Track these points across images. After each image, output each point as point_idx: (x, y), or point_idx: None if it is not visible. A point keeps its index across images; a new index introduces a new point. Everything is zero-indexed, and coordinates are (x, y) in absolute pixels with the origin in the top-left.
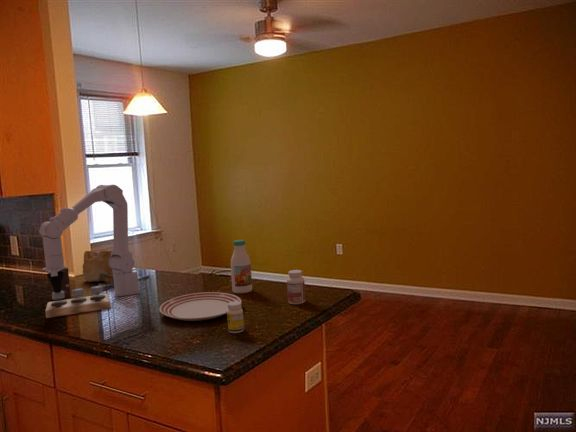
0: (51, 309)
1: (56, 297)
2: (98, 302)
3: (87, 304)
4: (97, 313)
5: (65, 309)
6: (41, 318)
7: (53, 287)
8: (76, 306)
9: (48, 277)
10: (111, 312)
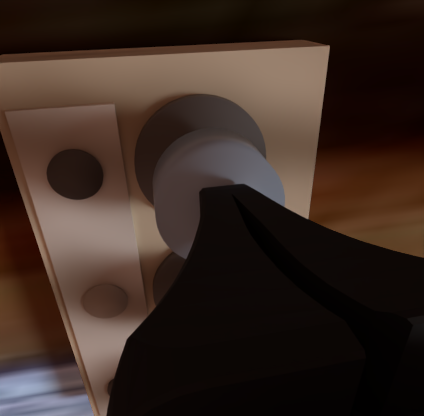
0: (7, 122)
1: (154, 186)
2: (93, 390)
3: (75, 346)
4: (11, 358)
5: (34, 221)
6: (8, 8)
7: (199, 223)
8: (55, 292)
9: (124, 352)
10: (6, 408)
